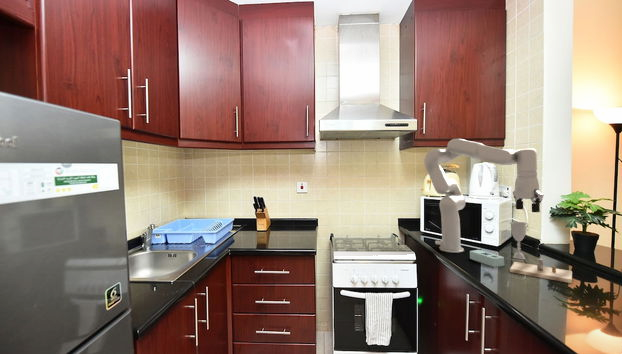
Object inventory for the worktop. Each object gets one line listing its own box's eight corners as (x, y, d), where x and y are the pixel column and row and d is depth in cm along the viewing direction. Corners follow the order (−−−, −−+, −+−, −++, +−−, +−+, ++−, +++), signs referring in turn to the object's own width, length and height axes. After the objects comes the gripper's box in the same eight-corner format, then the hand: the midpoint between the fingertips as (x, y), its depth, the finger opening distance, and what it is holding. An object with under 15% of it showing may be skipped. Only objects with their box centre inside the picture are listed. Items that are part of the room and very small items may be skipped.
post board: (510, 271, 123) (509, 258, 123) (514, 264, 131) (514, 252, 131) (571, 283, 109) (571, 268, 109) (572, 274, 117) (571, 260, 117)
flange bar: (469, 258, 143) (469, 251, 143) (479, 257, 145) (478, 249, 144) (494, 267, 129) (494, 258, 129) (504, 265, 131) (504, 257, 131)
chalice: (522, 255, 144) (521, 221, 144) (531, 259, 138) (530, 224, 137) (507, 255, 145) (506, 221, 145) (515, 259, 138) (514, 224, 138)
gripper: (506, 174, 139) (506, 208, 140) (533, 175, 122) (534, 213, 122) (520, 174, 139) (521, 208, 140) (550, 174, 122) (551, 213, 122)
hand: (527, 210), depth 131 cm, fingers open, 9 cm apart
